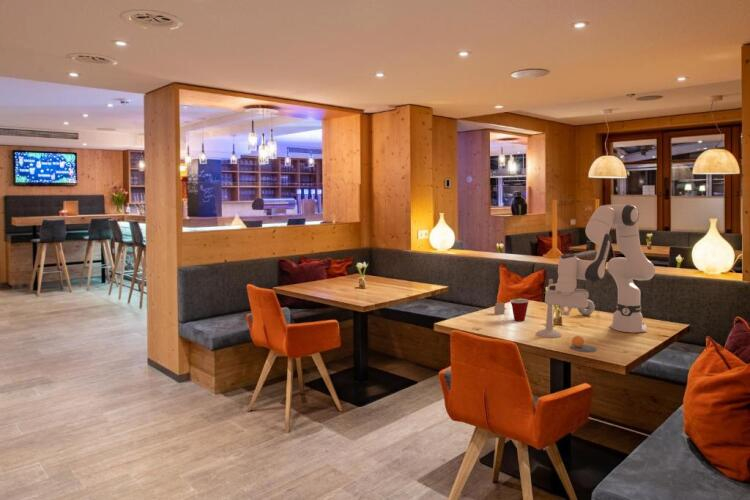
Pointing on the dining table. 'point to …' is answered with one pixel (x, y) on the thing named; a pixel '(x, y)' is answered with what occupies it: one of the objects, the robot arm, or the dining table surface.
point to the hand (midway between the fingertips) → (565, 315)
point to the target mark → (584, 348)
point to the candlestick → (549, 323)
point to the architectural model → (499, 308)
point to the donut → (589, 310)
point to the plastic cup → (519, 309)
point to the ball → (577, 341)
